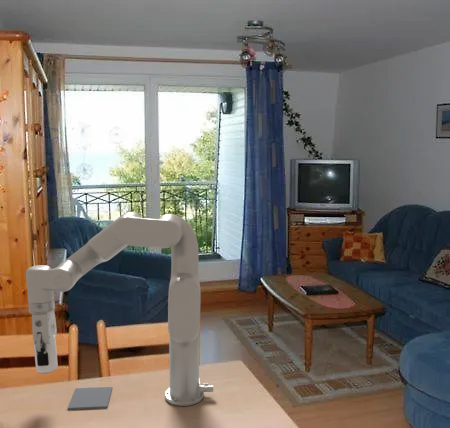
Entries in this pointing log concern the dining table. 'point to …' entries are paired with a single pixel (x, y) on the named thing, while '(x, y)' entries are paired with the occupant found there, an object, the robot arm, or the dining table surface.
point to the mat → (90, 398)
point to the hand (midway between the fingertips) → (46, 359)
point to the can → (51, 357)
